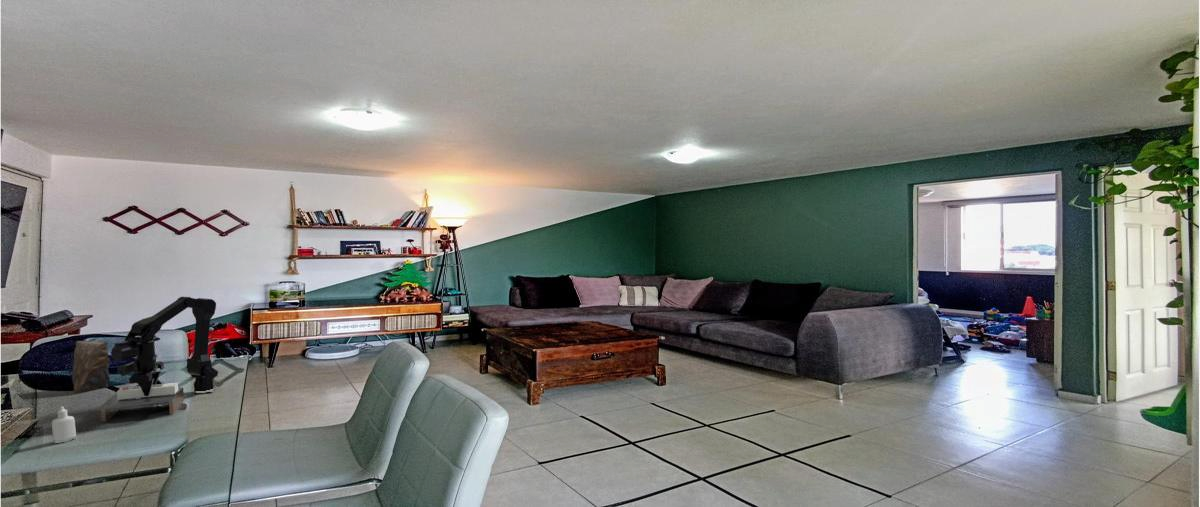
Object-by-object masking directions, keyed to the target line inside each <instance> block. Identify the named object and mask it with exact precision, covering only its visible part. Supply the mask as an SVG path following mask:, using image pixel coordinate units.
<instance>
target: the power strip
mask: <svg viewBox="0 0 1200 507" xmlns="http://www.w3.org/2000/svg"><path fill="white" fill-rule="evenodd" d="M178 388H179V382H169V383H168V382H167V383H159V384H157V383H156V385H152V387H151V390H150V393H149V395H148V396H145V395H144V393H143V391H142V389H141V387H140V385H138V386H124V387H120V388H119V389H118V390H117V391H116V394H117V398H118V400H120V399H130V398H131V399H140V397H150V396H160V395H162V396H170V394H172V395H173V394H176V392H177V391H178Z"/></svg>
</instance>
